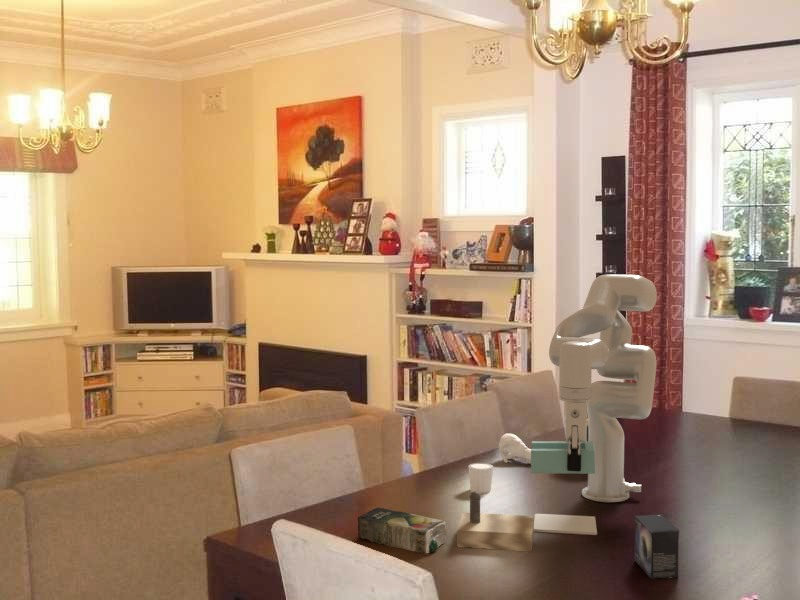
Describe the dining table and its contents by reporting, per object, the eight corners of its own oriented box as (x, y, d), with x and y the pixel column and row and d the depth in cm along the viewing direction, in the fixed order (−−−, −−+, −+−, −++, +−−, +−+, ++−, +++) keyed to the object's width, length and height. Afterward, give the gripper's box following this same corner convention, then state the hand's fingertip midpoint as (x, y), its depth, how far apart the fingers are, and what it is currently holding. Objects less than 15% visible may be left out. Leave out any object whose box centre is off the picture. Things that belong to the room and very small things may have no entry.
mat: (595, 518, 229) (595, 516, 229) (596, 534, 217) (597, 532, 217) (534, 515, 231) (534, 513, 231) (533, 531, 220) (533, 529, 220)
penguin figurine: (506, 430, 288) (541, 438, 282) (504, 456, 290) (538, 465, 283) (497, 434, 283) (532, 442, 277) (495, 460, 284) (530, 469, 278)
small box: (632, 561, 200) (633, 514, 200) (661, 560, 201) (662, 513, 200) (649, 579, 190) (650, 530, 189) (679, 578, 190) (680, 529, 190)
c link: (593, 463, 226) (592, 441, 226) (594, 473, 217) (594, 450, 216) (532, 462, 229) (531, 441, 229) (531, 473, 219) (530, 450, 219)
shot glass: (491, 494, 250) (491, 469, 249) (466, 493, 251) (466, 468, 250) (494, 487, 256) (494, 463, 256) (469, 486, 258) (469, 462, 257)
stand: (533, 532, 219) (533, 486, 218) (531, 551, 206) (532, 502, 205) (463, 528, 222) (463, 483, 221) (457, 547, 209) (457, 499, 208)
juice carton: (451, 543, 213) (451, 517, 212) (431, 556, 204) (430, 530, 204) (378, 529, 223) (378, 505, 222) (356, 542, 214) (356, 517, 214)
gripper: (592, 400, 209) (590, 478, 210) (589, 388, 224) (588, 461, 226) (559, 399, 210) (557, 477, 211) (559, 387, 225) (558, 460, 227)
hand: (573, 468), depth 218 cm, fingers closed on c link
